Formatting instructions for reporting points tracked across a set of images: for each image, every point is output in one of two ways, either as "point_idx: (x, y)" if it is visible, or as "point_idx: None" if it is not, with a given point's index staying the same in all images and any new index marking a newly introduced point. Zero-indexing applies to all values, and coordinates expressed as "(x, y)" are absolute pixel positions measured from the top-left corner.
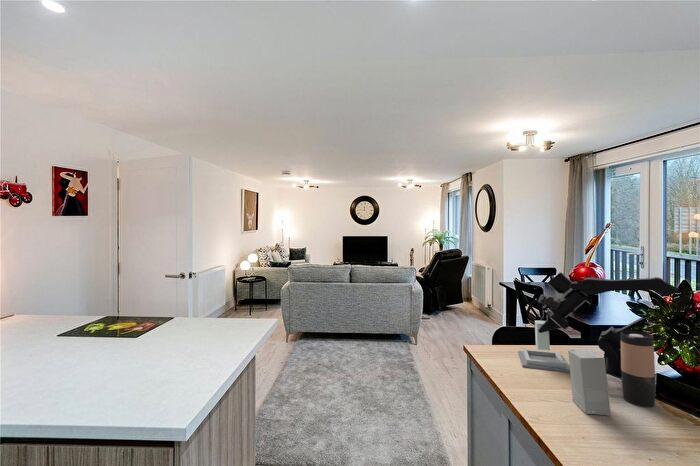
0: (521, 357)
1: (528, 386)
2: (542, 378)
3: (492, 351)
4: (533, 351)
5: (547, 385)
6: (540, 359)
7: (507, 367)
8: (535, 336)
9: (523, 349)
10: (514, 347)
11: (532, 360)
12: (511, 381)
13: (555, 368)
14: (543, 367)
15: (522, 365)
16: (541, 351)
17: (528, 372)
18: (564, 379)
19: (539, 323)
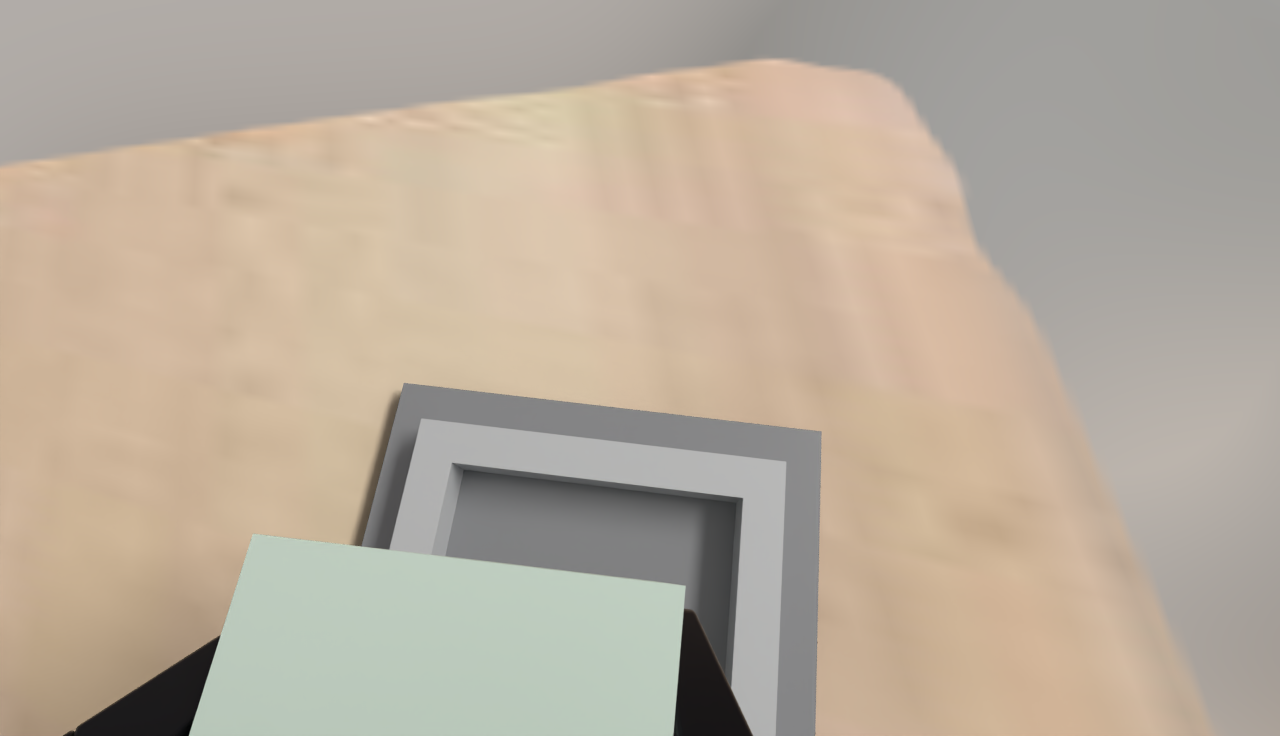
0: (612, 420)
1: (6, 343)
2: (150, 498)
3: (787, 211)
4: (737, 572)
5: (3, 498)
6: None
7: (395, 266)
8: (655, 581)
9: (767, 466)
10: (989, 435)
11: (408, 475)
12: (110, 244)
13: None
14: None
15: (406, 385)
16: (742, 673)
17: (287, 411)
18: None
19: (232, 621)
